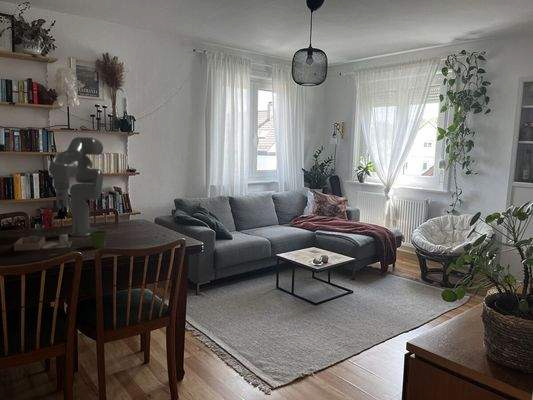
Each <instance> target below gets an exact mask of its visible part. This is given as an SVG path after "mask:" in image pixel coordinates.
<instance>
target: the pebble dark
mask: <svg viewBox="0 0 533 400" xmlns="http://www.w3.org/2000/svg"><path fill="white" fill-rule="evenodd" d="M37 237H38V236H37V235H30V236H28V239H29V243H37Z"/></svg>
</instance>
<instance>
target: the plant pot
mask: <svg viewBox="0 0 533 400" xmlns="http://www.w3.org/2000/svg"><path fill="white" fill-rule="evenodd" d="M89 234H90V235H89V236H90V238H91V244H92V245H91V246H92V247H93V248H94V249H103V248H104V249H105V248H106V242H107V241H106V240H107V235H108V231H107V230H97V231H91V232H89Z"/></svg>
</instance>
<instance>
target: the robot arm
mask: <svg viewBox="0 0 533 400" xmlns="http://www.w3.org/2000/svg"><path fill="white" fill-rule="evenodd" d="M103 151H104V145H103V143H102V142H101V141H100V140H98V139H96V138H94V137H88V136H87V137H83V136H80V137H79V136H78V137H74V138H73V139H72V140H71V141H70V144H69V146H68V148H67V149H66V150H64V151H62V152H61V153H58V154H56V155H55V156H54V157H53V158H52V159H51V161H50V163H49V166H48V171H49V173H50V174H51V176H53V177H52V178H53V189H54V190H55V191H56V192H55V195H56V197H55V198H56V207H57V219H58V220H65V217H67V216H68V207H69V206H70V205H69V204H70V202H69V201H70V199H71V211H72V232H70V236H72V237H87V236H88V237H89V236H90V234H89V232H91V231H98V228H96V227H91V226H90V205H89V204H88V202H87V201H86V200H92V201H94V200H99V199H100V198H101V196H102V189H103V181H104V173H103V171H102V170H101V169H99V168H93V162H92V160H91V158H89V156H88V155H90V156H91V155H95V156H96V155H97V156H98V155H102V153H103ZM75 162H77V164H76V163H75ZM73 176H75V181H76V183H75V184H73V185H71V186H70V177H73ZM69 194H70V199H69Z"/></svg>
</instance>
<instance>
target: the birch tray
mask: <svg viewBox="0 0 533 400" xmlns="http://www.w3.org/2000/svg"><path fill="white" fill-rule="evenodd" d="M72 243H73V240H68V245H67V246H60V240H59V241H45V243H44V245H43V246H42V247H41V249H40V250H50V249H51V250H52V249H70V248H71V245H72Z"/></svg>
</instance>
